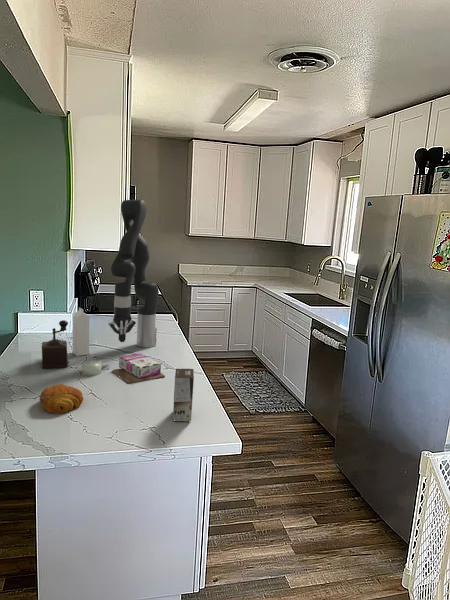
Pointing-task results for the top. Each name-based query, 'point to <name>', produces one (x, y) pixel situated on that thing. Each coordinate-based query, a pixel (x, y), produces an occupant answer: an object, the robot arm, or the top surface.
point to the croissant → (61, 398)
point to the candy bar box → (140, 365)
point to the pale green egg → (91, 368)
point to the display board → (132, 378)
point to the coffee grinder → (55, 351)
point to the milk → (80, 333)
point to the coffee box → (183, 394)
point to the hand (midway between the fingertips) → (121, 341)
